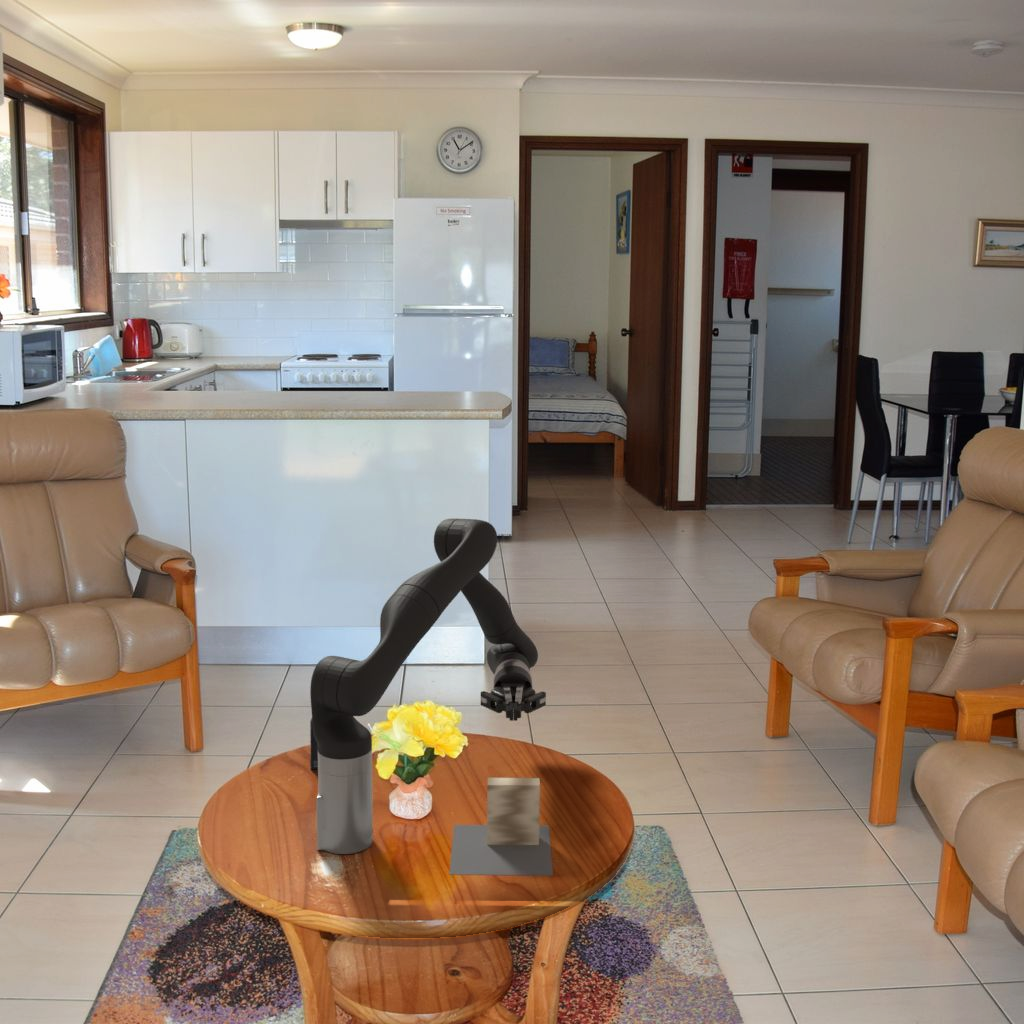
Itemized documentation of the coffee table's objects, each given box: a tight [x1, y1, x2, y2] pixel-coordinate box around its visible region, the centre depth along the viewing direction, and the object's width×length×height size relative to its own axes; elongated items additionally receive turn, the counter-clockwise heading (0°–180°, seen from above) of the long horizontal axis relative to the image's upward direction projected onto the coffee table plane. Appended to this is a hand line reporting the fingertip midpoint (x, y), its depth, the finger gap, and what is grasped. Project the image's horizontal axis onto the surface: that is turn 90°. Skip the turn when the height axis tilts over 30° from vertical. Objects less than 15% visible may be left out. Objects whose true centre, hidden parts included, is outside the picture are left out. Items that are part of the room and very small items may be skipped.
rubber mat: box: [448, 824, 554, 877], centre depth 200 cm, size 17×18×1 cm
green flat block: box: [486, 776, 541, 845], centre depth 202 cm, size 9×3×11 cm, turn 90°
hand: (513, 715), depth 211 cm, fingers closed
